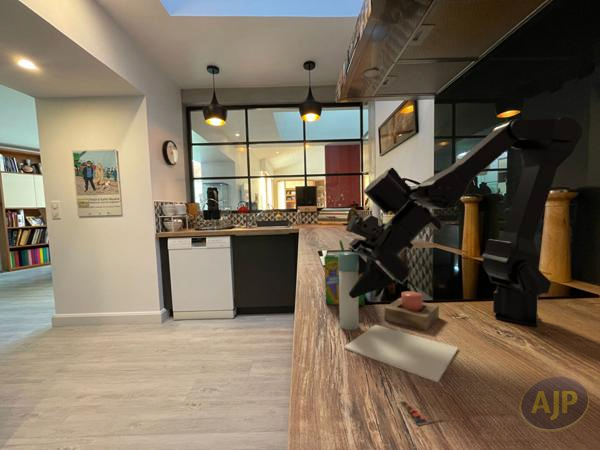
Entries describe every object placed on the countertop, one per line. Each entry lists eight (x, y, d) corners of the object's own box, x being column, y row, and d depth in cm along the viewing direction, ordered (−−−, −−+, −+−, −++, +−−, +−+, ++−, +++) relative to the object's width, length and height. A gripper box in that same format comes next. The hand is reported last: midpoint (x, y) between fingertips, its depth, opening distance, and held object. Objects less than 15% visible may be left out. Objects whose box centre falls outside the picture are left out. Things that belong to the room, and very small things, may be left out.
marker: (362, 325, 54) (362, 253, 53) (352, 332, 51) (351, 256, 50) (345, 320, 56) (345, 251, 56) (335, 326, 54) (334, 254, 53)
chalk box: (364, 307, 64) (364, 242, 63) (324, 305, 66) (323, 242, 65) (363, 295, 73) (363, 238, 72) (328, 293, 75) (327, 238, 74)
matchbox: (455, 418, 30) (455, 413, 30) (420, 435, 28) (420, 430, 28) (420, 392, 35) (420, 389, 35) (388, 406, 32) (388, 402, 32)
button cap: (425, 310, 57) (425, 293, 57) (418, 316, 54) (418, 298, 54) (405, 306, 60) (405, 290, 59) (398, 311, 57) (398, 294, 56)
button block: (438, 317, 57) (438, 305, 57) (426, 330, 51) (426, 317, 51) (400, 308, 62) (400, 297, 62) (384, 319, 56) (384, 307, 56)
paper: (458, 349, 44) (458, 347, 44) (437, 382, 36) (437, 380, 36) (375, 326, 53) (375, 324, 53) (344, 348, 45) (344, 346, 45)
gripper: (358, 201, 62) (309, 252, 62) (391, 198, 43) (321, 270, 43) (393, 236, 63) (344, 286, 63) (439, 247, 44) (371, 318, 44)
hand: (344, 288), depth 53 cm, fingers open, 9 cm apart
